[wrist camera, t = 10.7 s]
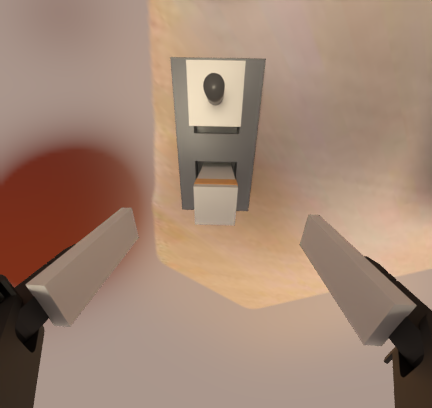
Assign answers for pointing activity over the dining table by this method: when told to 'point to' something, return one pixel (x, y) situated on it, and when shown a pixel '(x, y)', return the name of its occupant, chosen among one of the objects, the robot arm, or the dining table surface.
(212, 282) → the dining table surface
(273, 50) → the dining table surface
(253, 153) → the grey flat block
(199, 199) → the plug
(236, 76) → the twin plug
